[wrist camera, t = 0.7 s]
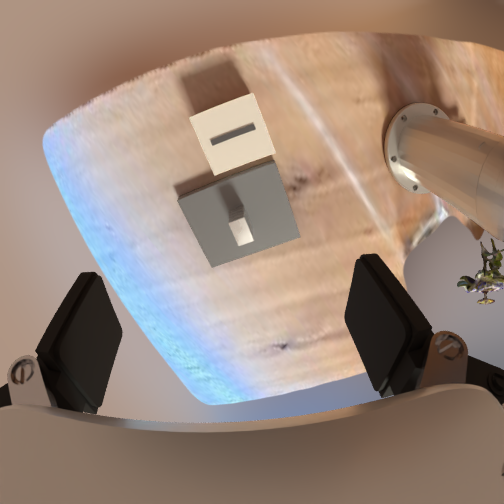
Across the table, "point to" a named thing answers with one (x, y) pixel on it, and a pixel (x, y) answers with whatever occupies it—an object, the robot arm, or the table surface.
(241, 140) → the cream coin box
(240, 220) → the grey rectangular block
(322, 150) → the table surface
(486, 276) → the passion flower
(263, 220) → the plate
